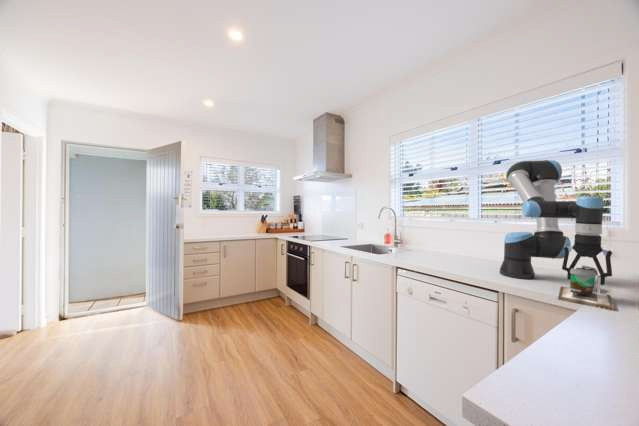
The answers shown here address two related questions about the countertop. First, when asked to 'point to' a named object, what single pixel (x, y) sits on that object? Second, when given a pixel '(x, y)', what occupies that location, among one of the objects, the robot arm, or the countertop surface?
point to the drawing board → (586, 298)
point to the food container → (583, 280)
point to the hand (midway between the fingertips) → (584, 289)
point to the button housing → (593, 287)
